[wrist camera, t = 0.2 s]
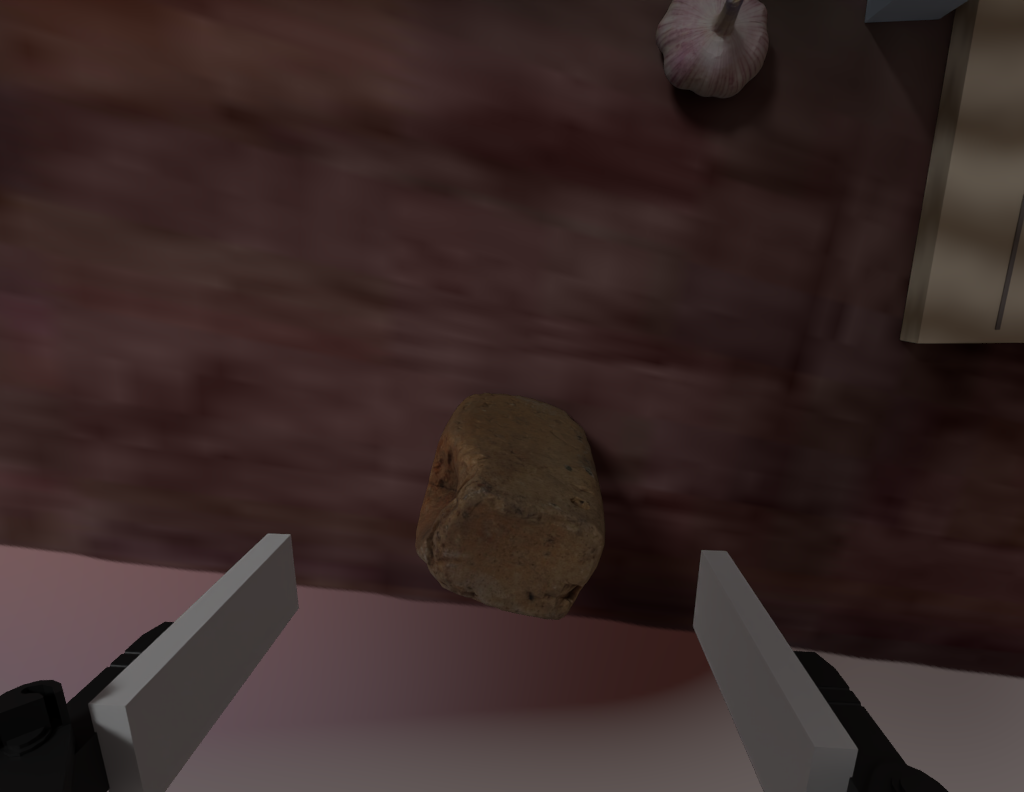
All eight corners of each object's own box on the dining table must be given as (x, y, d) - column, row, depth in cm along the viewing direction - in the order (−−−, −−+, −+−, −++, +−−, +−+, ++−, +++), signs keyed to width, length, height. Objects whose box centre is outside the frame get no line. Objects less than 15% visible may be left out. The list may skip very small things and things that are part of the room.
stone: (590, 416, 43) (629, 532, 24) (558, 490, 45) (571, 655, 26) (472, 372, 43) (415, 454, 23) (445, 449, 45) (371, 584, 25)
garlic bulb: (634, 33, 36) (658, -33, 28) (728, -29, 35) (781, -115, 27) (679, 131, 38) (715, 94, 30) (772, 74, 36) (834, 20, 29)
